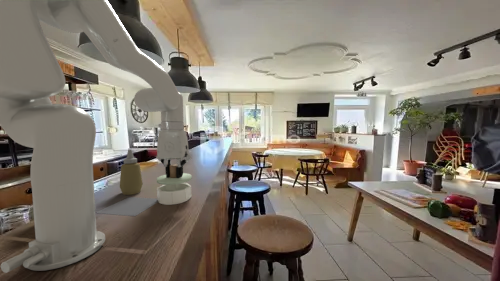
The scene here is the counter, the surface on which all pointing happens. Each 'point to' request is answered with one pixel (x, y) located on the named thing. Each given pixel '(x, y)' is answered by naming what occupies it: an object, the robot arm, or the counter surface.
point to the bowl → (173, 193)
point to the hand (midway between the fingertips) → (174, 176)
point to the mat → (129, 206)
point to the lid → (173, 177)
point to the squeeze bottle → (130, 175)
